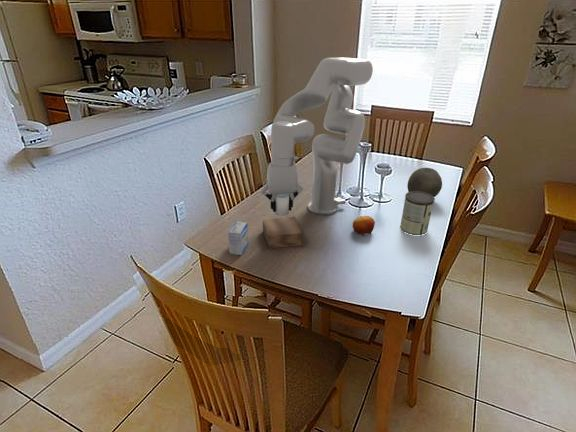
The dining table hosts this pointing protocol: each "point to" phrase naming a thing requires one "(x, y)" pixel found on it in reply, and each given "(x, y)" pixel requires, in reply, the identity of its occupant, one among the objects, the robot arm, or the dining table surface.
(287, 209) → the pill bottle
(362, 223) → the fruit
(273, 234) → the walnut block
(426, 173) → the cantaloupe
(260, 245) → the dining table surface
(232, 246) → the medicine box
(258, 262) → the dining table surface
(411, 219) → the coffee can
